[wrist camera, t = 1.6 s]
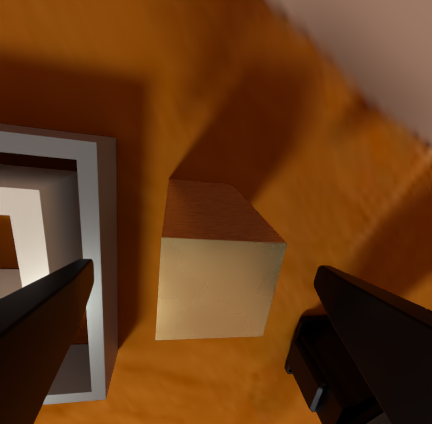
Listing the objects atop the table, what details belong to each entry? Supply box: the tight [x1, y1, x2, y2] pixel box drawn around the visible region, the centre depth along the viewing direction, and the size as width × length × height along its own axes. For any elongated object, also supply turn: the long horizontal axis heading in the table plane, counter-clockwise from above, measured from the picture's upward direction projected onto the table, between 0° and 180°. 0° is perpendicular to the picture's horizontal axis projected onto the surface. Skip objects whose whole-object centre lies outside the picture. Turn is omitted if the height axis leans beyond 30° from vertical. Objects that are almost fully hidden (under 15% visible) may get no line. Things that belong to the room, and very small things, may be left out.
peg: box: [155, 178, 287, 340], centre depth 12 cm, size 4×4×8 cm
